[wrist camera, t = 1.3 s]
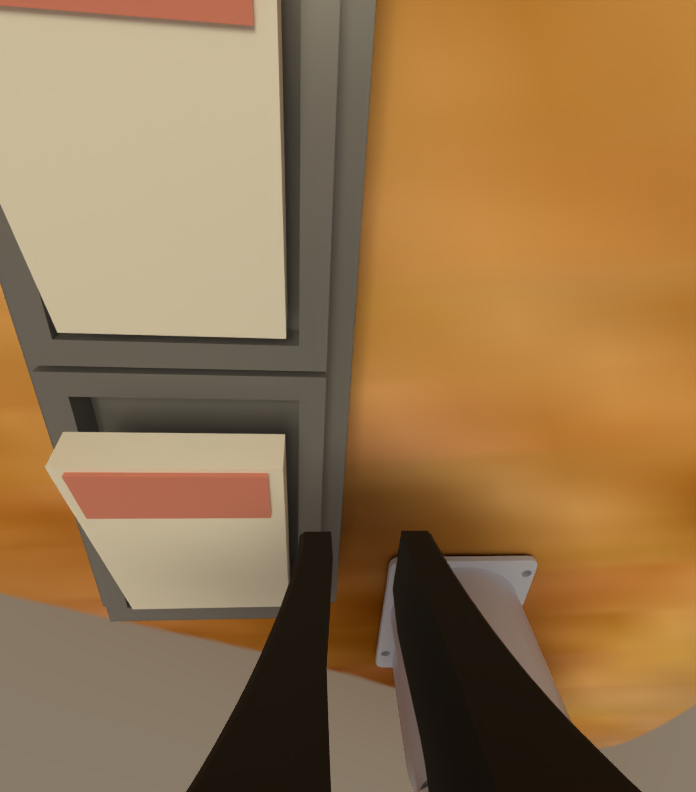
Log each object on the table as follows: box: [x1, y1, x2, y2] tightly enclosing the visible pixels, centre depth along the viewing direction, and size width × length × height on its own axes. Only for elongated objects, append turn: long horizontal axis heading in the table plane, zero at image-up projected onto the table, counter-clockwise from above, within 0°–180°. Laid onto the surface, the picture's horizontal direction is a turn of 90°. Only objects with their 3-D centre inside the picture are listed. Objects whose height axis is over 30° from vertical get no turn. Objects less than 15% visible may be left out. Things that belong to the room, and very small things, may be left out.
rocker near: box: [0, 0, 288, 339], centre depth 10 cm, size 9×6×1 cm, turn 177°
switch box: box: [0, 0, 376, 621], centre depth 16 cm, size 24×10×5 cm, turn 177°
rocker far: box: [45, 432, 290, 609], centre depth 16 cm, size 9×6×1 cm, turn 177°
